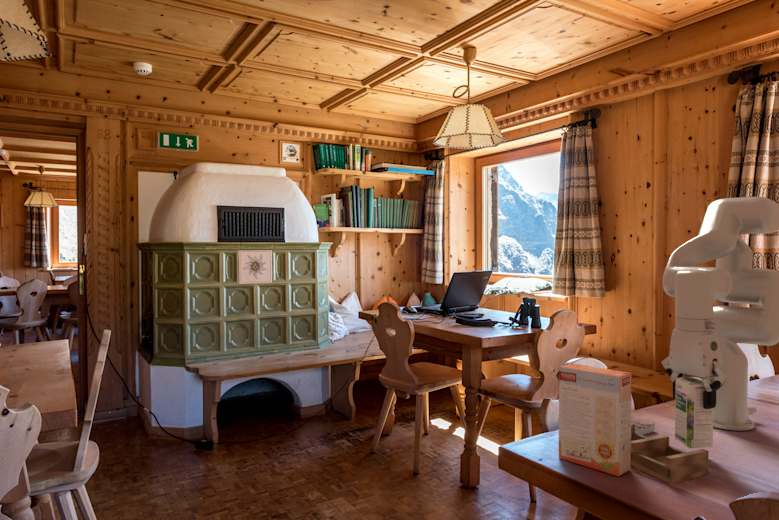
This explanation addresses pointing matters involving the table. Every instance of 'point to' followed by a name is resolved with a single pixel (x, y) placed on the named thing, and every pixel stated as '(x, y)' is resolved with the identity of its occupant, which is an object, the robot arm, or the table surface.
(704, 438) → the syrup box
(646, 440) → the tray
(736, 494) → the table surface
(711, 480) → the table surface
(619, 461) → the cracker box
